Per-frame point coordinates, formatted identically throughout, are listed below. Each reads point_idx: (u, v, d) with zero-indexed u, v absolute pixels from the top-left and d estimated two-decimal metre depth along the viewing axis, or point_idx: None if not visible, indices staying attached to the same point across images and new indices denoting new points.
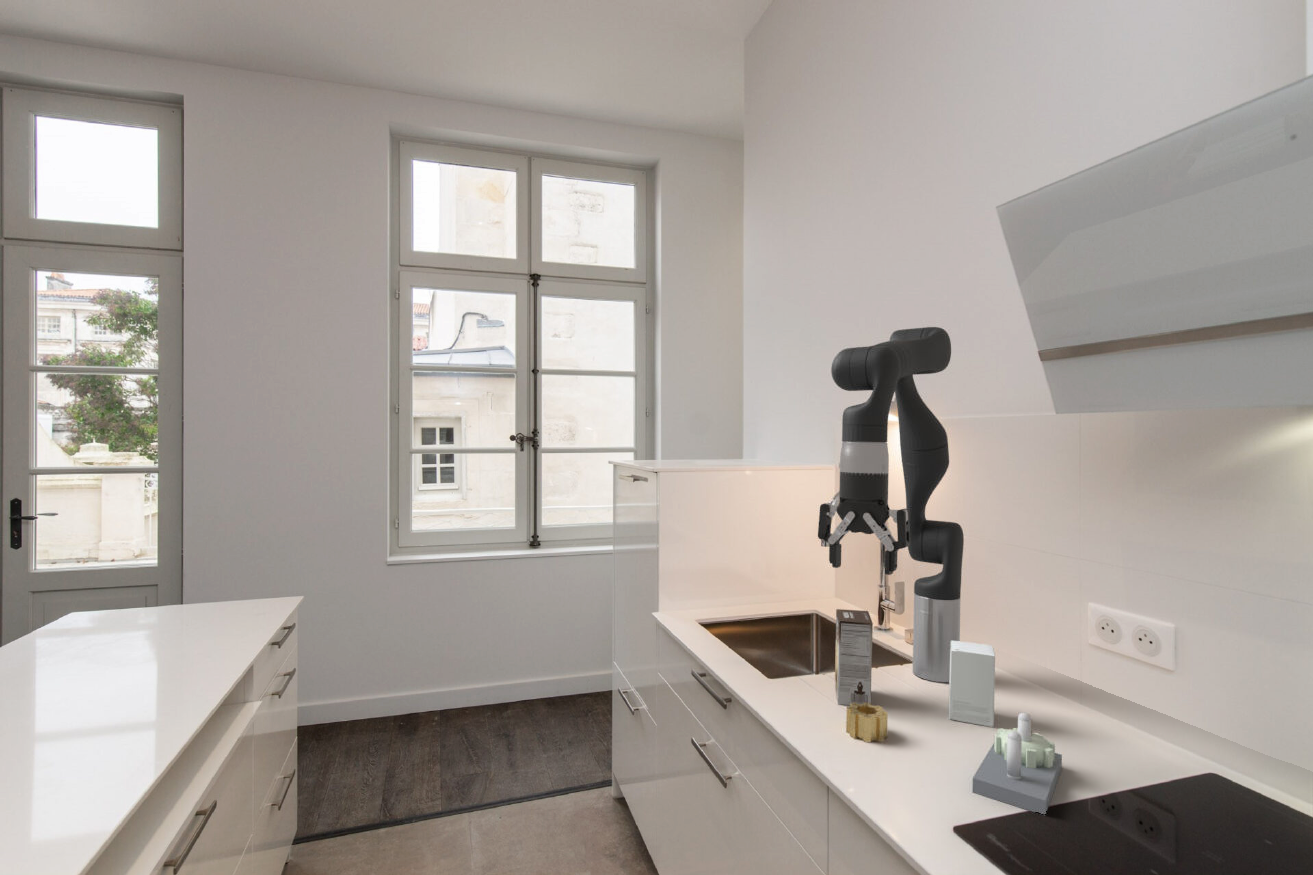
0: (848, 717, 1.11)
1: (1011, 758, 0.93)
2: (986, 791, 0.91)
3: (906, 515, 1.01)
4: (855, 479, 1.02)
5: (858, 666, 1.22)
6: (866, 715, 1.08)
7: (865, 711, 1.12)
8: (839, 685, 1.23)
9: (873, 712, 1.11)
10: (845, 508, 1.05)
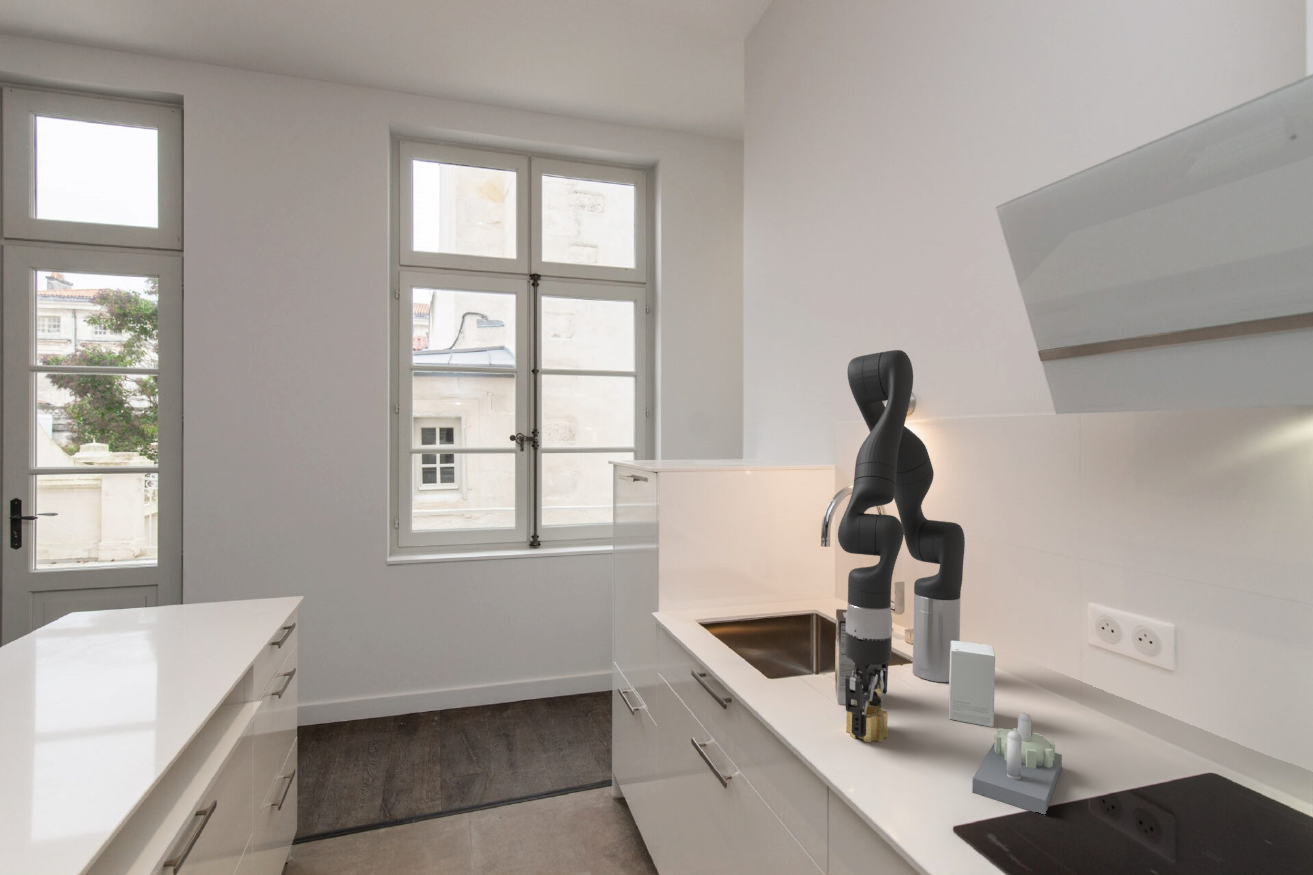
0: (848, 717, 1.11)
1: (1011, 758, 0.93)
2: (986, 791, 0.91)
3: None
4: (890, 643, 1.08)
5: None
6: (866, 715, 1.08)
7: None
8: (839, 685, 1.23)
9: (873, 712, 1.11)
10: (868, 672, 1.08)
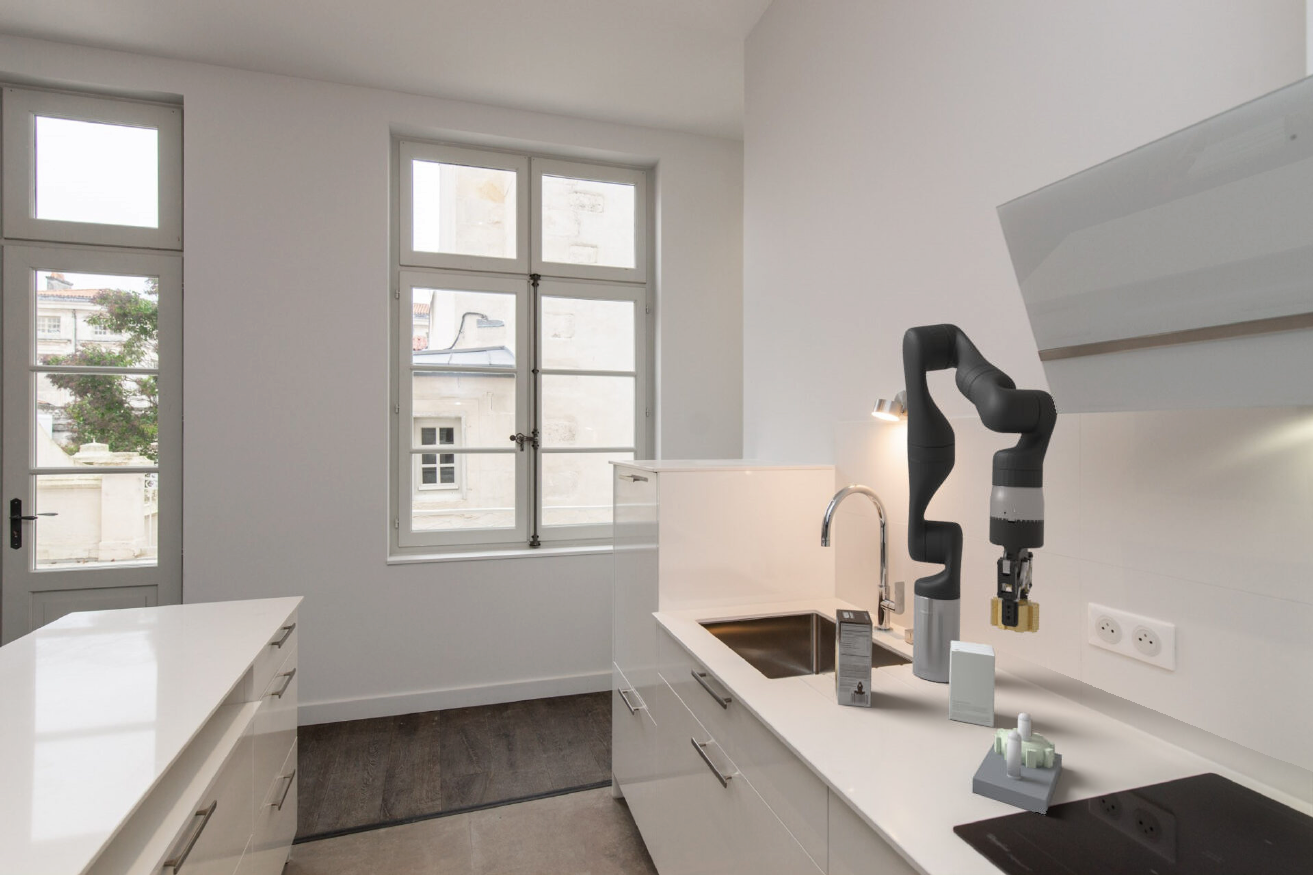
0: (994, 609, 1.02)
1: (1011, 758, 0.93)
2: (986, 791, 0.91)
3: None
4: (1043, 526, 1.00)
5: (858, 666, 1.22)
6: None
7: None
8: (839, 685, 1.23)
9: None
10: (1020, 557, 0.99)
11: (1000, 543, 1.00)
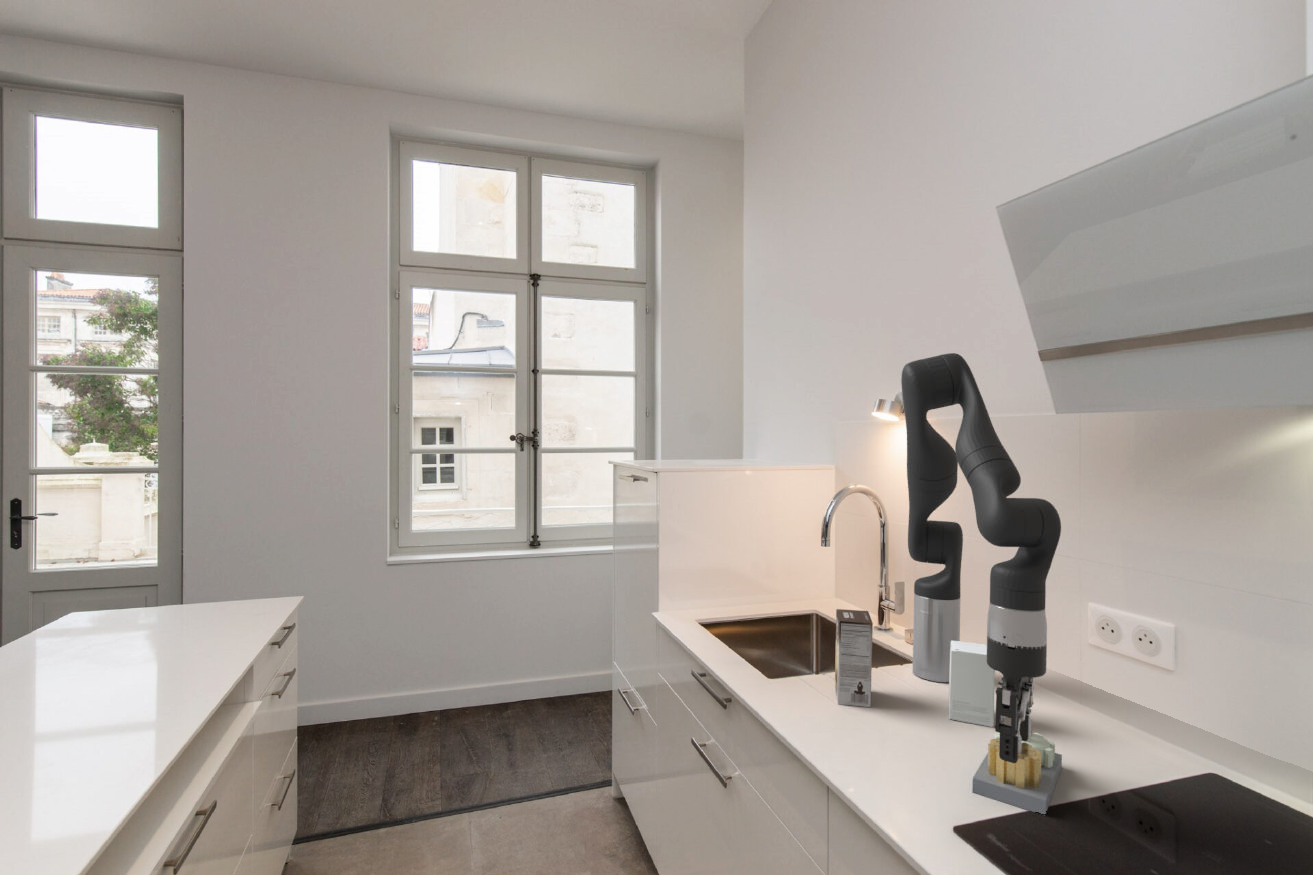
0: (991, 757, 0.94)
1: None
2: (986, 791, 0.91)
3: None
4: (1046, 651, 0.91)
5: (858, 666, 1.22)
6: None
7: None
8: (839, 685, 1.23)
9: None
10: (1020, 687, 0.91)
11: (999, 670, 0.91)
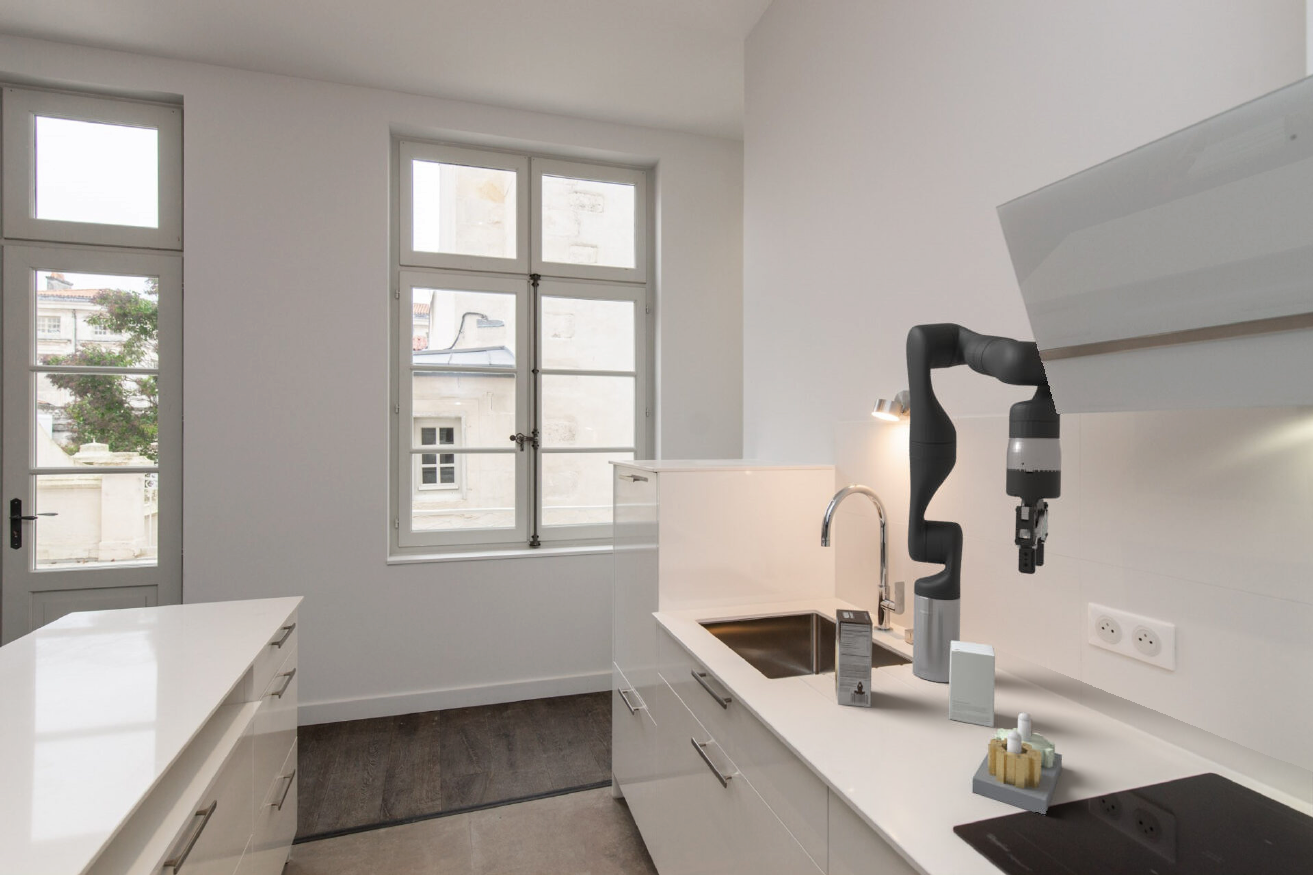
0: (991, 757, 0.94)
1: None
2: (986, 791, 0.91)
3: None
4: (1060, 477, 1.01)
5: (858, 666, 1.22)
6: (1017, 756, 0.91)
7: None
8: (839, 685, 1.23)
9: None
10: (1037, 508, 1.00)
11: (1018, 494, 1.01)
